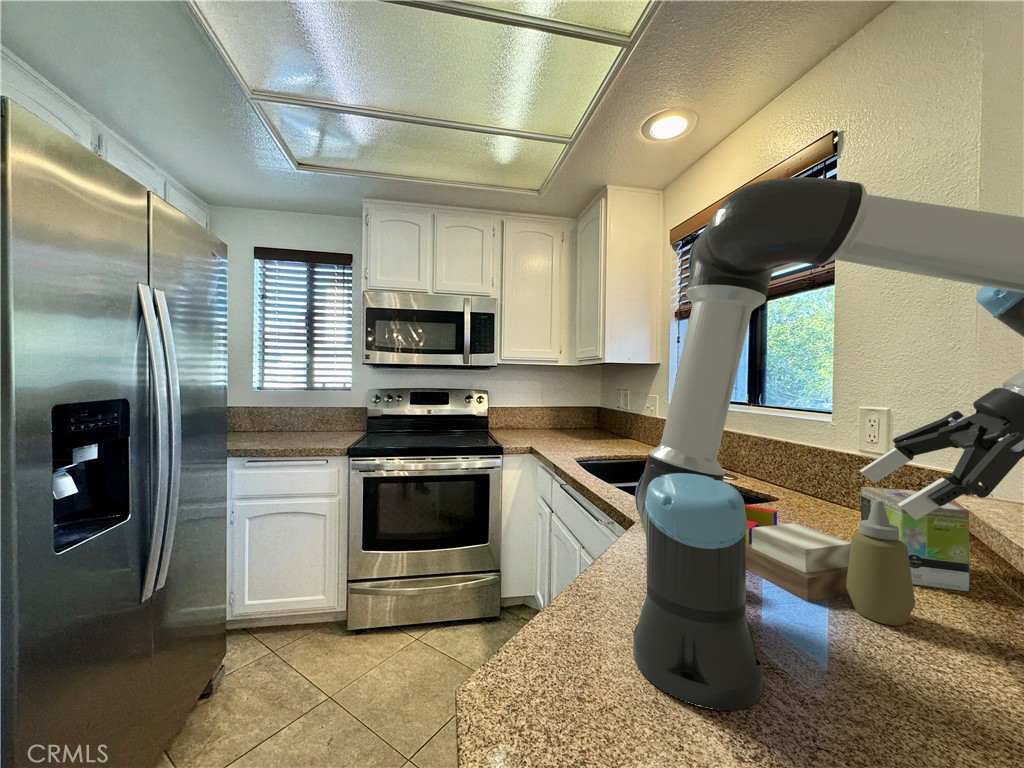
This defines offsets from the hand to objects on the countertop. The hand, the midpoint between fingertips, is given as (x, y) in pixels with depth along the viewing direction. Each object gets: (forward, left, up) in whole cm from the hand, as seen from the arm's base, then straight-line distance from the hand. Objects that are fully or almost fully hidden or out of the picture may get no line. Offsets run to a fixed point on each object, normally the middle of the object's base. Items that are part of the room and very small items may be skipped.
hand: (884, 493), depth 64 cm
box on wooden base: (-3, +12, -19) cm, 22 cm away
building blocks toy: (-4, +32, -19) cm, 38 cm away
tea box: (+21, +9, -19) cm, 30 cm away
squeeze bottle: (-3, -1, -19) cm, 19 cm away
